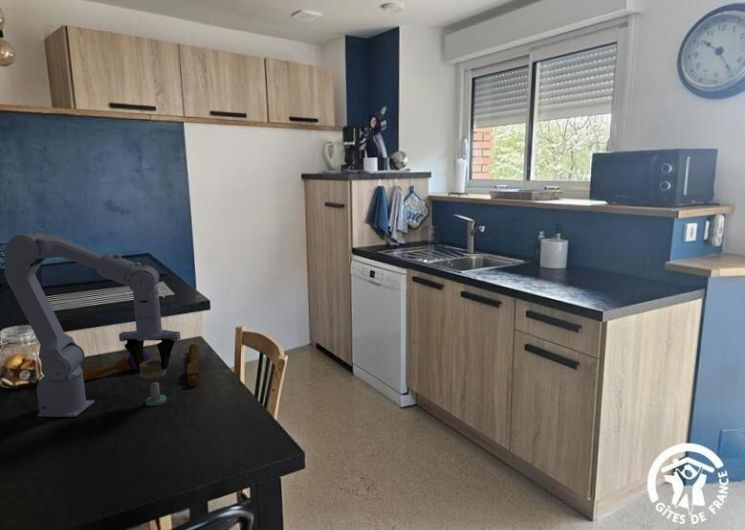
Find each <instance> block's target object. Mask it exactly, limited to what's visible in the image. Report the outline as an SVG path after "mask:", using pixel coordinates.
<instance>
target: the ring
mask: <svg viewBox="0 0 745 530" xmlns="http://www.w3.org/2000/svg"><path fill="white" fill-rule="evenodd" d="M139 368H140V370H139V376H140V378H142V379H143V380H147V379H149V380H151V379H152V380H154V379H157V378H160V377H164V375H165V374H166V373H167V368H166V369H162V367H161V358H150V360H147V361H143V362H142V363H141V364H139Z"/></svg>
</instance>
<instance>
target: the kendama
mask: <svg viewBox="0 0 745 530" xmlns="http://www.w3.org/2000/svg"><path fill="white" fill-rule="evenodd" d="M143 355H144V361H147V360H151V357H150V356H151V355H150V354H149V353H148V352H147V351H145V350H144V349H143ZM130 369H132V370H133V371H140V369H137V366H136V364H135V361H134V359H133V357H132V356H131V354H130V353H129V356H128V357H126V356H124V357H123V358H122V359H120V360H119V361H118V362H117V363H115V364H114V365H108V366H104V367H97V368H92V369H87V370H82V372H83V380H84V382H85V381H88V380H90V379H93V378H97V377H98V376H101V375H103V374H105V373H108V372H110V371H113V370H121V371H130Z"/></svg>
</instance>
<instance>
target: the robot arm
mask: <svg viewBox="0 0 745 530" xmlns="http://www.w3.org/2000/svg"><path fill="white" fill-rule="evenodd" d="M2 252H3V254H4V256H5V261H4V279H5V280H6V281H7V284H8V286H9V288H10V289H11V291H12V293H13V295H14V297H15V299H16V301H17V303H18V305H19V306H20V308H21V310H22V311H23V312H22V313H23V314H24V316H25V318H26V320H27V321H28V323H29V326H30V328H31V330H32V331H33V333H34V335H35V337H36V339H37V341H38V343H39V351H38V357H39V360H40V363H41V366H40V368H41V369H40V370H41V373H42V375H43V376H41V378H40V379H39V381H38V383H37V386H36V397H37V401H38V402H37V403H38V410H39V413H37V417H44V418H45V417H49V418H50V417H52V418H53V417H56V418H57V417H58V418H59V417H60V418H62V417H64V418H65V417H66V418H68V417H69V418H74V417H77V416H79V415H80V414H81V413H83V411H85V410H86V409H87V408H89V407H90V406H91V405H94V403H95V400H93V399H92V400H91V399H90V400H87V398H86V397H87V396H86V387H85V381H84V380H83V372H82V371H83V369H82V365H81V364H82V363H83V362H84V361H85V356H86V354H85V351H84V349H83V348H82V347H81V346H80V345H78V344H77V343H76V342H75V340H74V338H73V337H72V336H71V335H69V334H66V333H65V332H64V329H63V328H62V326H61V323H60V321H59V319H58V317H57V315H56V314H55V312H54V310H53V308H52V305H51V304H50V302H49V300H48V298H47V296H46V294H45V292H44V291H43V288H42V286H41V284H40V282H39V280H38V278H37V276H36V273H37V271H38V270H39V268H40V266H41V264H42V263H43V262H44V261H45V260H46V259H47V260H48V259H53V258H63V259H67V260H69V261H72V262H74V263H79V264H81V265H84V266H88V267H90V268H94V269H95V270H96V271H97V273H98V275H99V276H100V277H103V278H106V279H108V280H110V281H113V282H116V283H118V284H121V285H124V286H128V287H129V289H130V290H131V291H132V295H133V307H134V308H133V309H134V319H135V321H134V322H135V330H129V331H122V332H120V333H118V337H119V339H118V340H119V342H125V341H126V343H125V344H124V349H126V350H127V351H128V353H129V355H130V354H131V356H132V357H133V359H134V361H135V364H136V366H137V369H140V368H139V364H141V363H142V362H143V361H144V355H143V350H144V343H145V341H151V342H152V341H153V342H154V341H155V342H156V341H160V342H158V343H157V344H156V347H157V350H158V352H159V357H160V359H161V367H162V369H166V370H167V368H168V367H169V364H170V363H169V362H170V357H171V353H172V350H173V348H174V346H175V343H176V342H179V341H180V340H181V331H173V330H167V329H163V328H162V316H161V305H160V304H161V303H160V297H159V286H157V285H158V284H159V282H160V274H159V272H158V270H157V268H155V267H153V266H152V265H149V264H145V265H142V263H141V262H138V261H137V262H133V261H131V260H128V259H126V258H123V257H122V256H123V255H122V254H121V253H115V254H113V253H108V254H105V255H101V254H99V253H97V252H94V251H93V250H89V249H88V248H85V247H83V246H81V245H79V244H77V243H74V242H72V241H69V240H67V239H65V238H62V237H61V236H59V235H56V234H50V233H49V232H46V231H43V230H37V231H36V230H35V231H33V232H30V233H26V234H18V235H15V236H13V237H12V238H10V239H9V240H8V242H7V244H6V245H5V247H3V251H2Z"/></svg>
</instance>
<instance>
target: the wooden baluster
mask: <svg viewBox="0 0 745 530" xmlns="http://www.w3.org/2000/svg"><path fill="white" fill-rule="evenodd" d="M198 357H199V346H198V345H197V344H195V343H194V344H190V345H189V347H188V359H189V360H188V361H189V363H187V364H186V368H187V369H186V378H187V381H186V382H187V384H188V386H189V387H196V386H197V385H198V384H199V382H200V365H199V362H198V359H199V358H198Z"/></svg>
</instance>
